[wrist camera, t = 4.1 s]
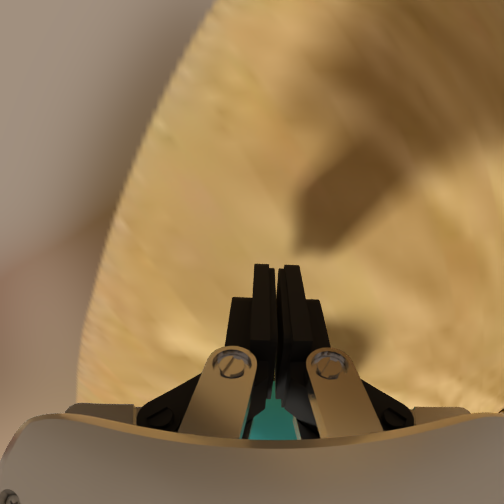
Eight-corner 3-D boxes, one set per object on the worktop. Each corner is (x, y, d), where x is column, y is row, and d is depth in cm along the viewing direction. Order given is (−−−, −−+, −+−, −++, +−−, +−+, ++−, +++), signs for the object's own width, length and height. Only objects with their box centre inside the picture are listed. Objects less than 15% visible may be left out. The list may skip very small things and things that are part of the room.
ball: (224, 357, 16) (209, 448, 11) (326, 361, 16) (338, 450, 11) (228, 409, 19) (219, 481, 14) (310, 411, 19) (314, 483, 14)
